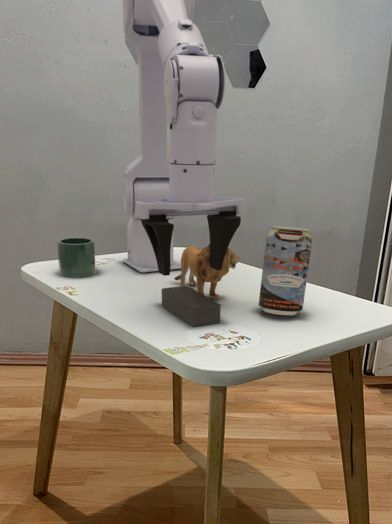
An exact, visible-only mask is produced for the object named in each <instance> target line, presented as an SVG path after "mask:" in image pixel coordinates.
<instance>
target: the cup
mask: <svg viewBox="0 0 392 524" xmlns="http://www.w3.org/2000/svg"><path fill="white" fill-rule="evenodd" d="M95 242H96V241H95V240H94V239H92V238H90V237H89V238H87V237H67V238H61V239H57V242H56V243H57V244H56V245H57V257H58V270H59V274H60V276H62V277H66V278H86V277H87V278H88V277H92V276H94V275H95V274H96V273H97V272H96V270H97V265H96V264H97V263H96V245H95Z"/></svg>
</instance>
